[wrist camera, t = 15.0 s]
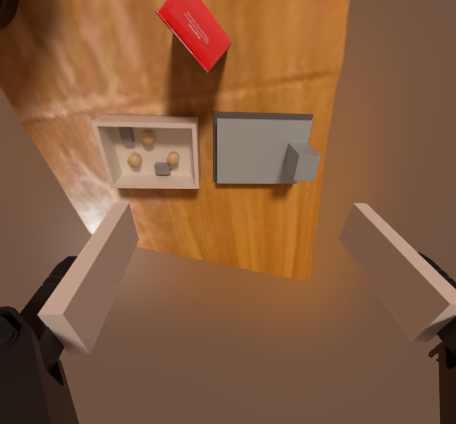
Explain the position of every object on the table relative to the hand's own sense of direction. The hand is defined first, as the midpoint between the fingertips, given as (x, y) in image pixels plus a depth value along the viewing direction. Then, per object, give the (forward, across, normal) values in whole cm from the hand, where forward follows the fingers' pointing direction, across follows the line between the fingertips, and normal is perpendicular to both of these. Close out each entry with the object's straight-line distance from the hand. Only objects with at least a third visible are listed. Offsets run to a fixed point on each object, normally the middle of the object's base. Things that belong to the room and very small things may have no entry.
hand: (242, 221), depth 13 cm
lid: (+36, +8, -8) cm, 38 cm away
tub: (+37, -14, -8) cm, 40 cm away
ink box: (+37, -4, +11) cm, 39 cm away
